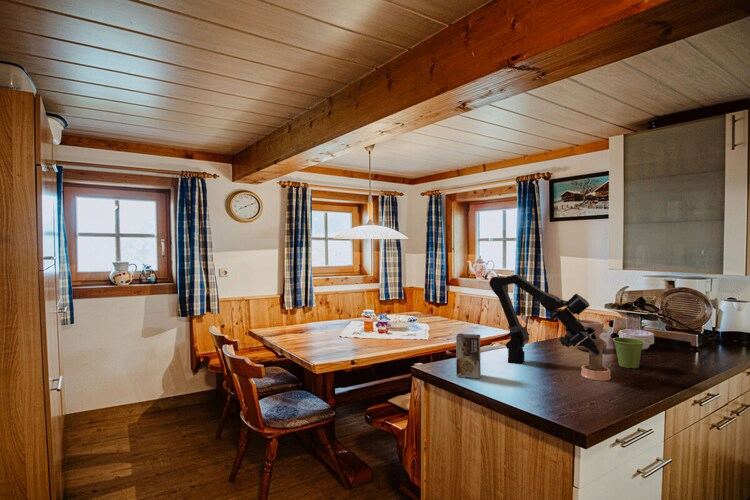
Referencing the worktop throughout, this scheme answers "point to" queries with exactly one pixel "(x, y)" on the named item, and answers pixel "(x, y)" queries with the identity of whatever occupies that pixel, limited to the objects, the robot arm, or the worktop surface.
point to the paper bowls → (638, 336)
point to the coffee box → (468, 355)
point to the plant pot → (628, 351)
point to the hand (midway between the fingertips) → (599, 353)
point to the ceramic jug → (599, 330)
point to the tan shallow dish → (596, 373)
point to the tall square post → (596, 356)
